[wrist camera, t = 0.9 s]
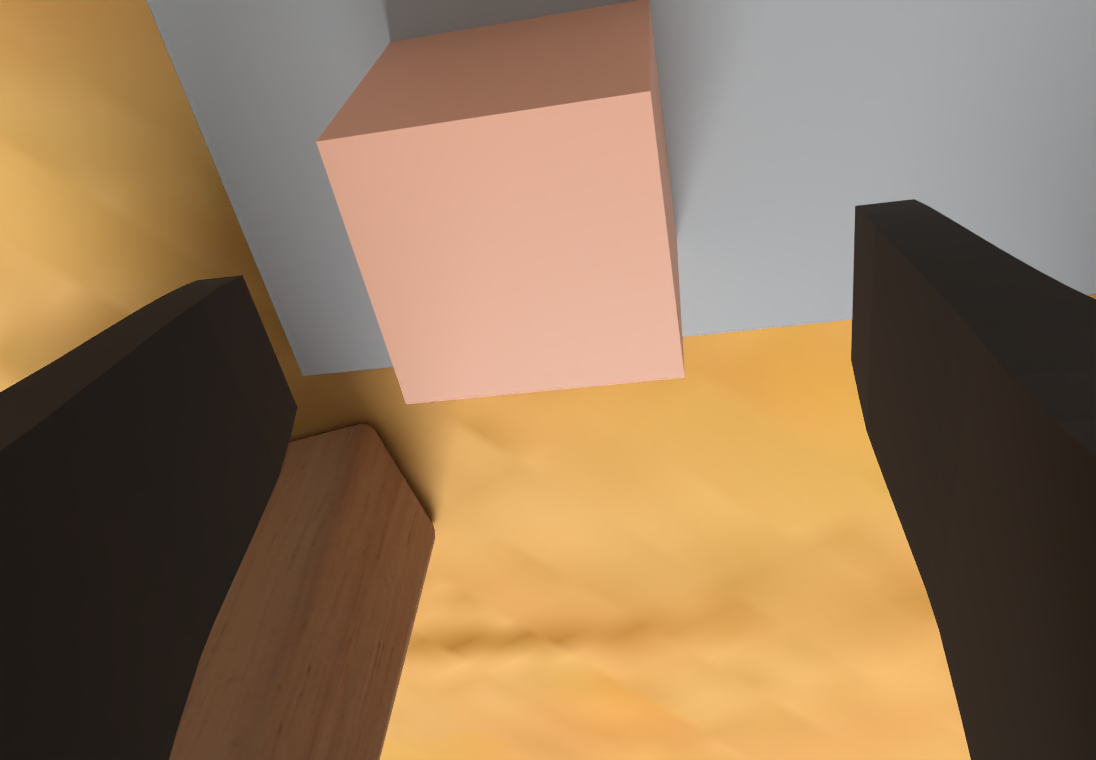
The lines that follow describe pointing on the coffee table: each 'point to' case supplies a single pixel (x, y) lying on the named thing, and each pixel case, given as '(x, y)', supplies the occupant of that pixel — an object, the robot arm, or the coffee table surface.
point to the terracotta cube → (514, 206)
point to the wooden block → (315, 612)
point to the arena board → (688, 140)
